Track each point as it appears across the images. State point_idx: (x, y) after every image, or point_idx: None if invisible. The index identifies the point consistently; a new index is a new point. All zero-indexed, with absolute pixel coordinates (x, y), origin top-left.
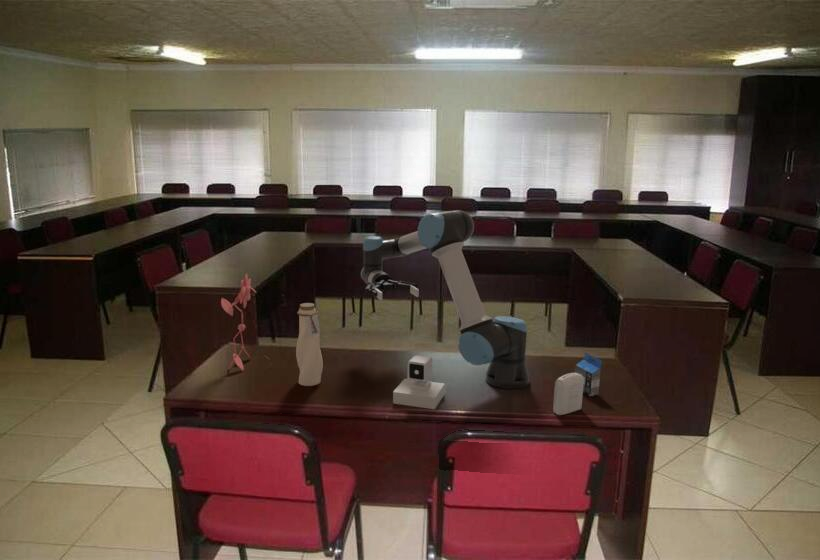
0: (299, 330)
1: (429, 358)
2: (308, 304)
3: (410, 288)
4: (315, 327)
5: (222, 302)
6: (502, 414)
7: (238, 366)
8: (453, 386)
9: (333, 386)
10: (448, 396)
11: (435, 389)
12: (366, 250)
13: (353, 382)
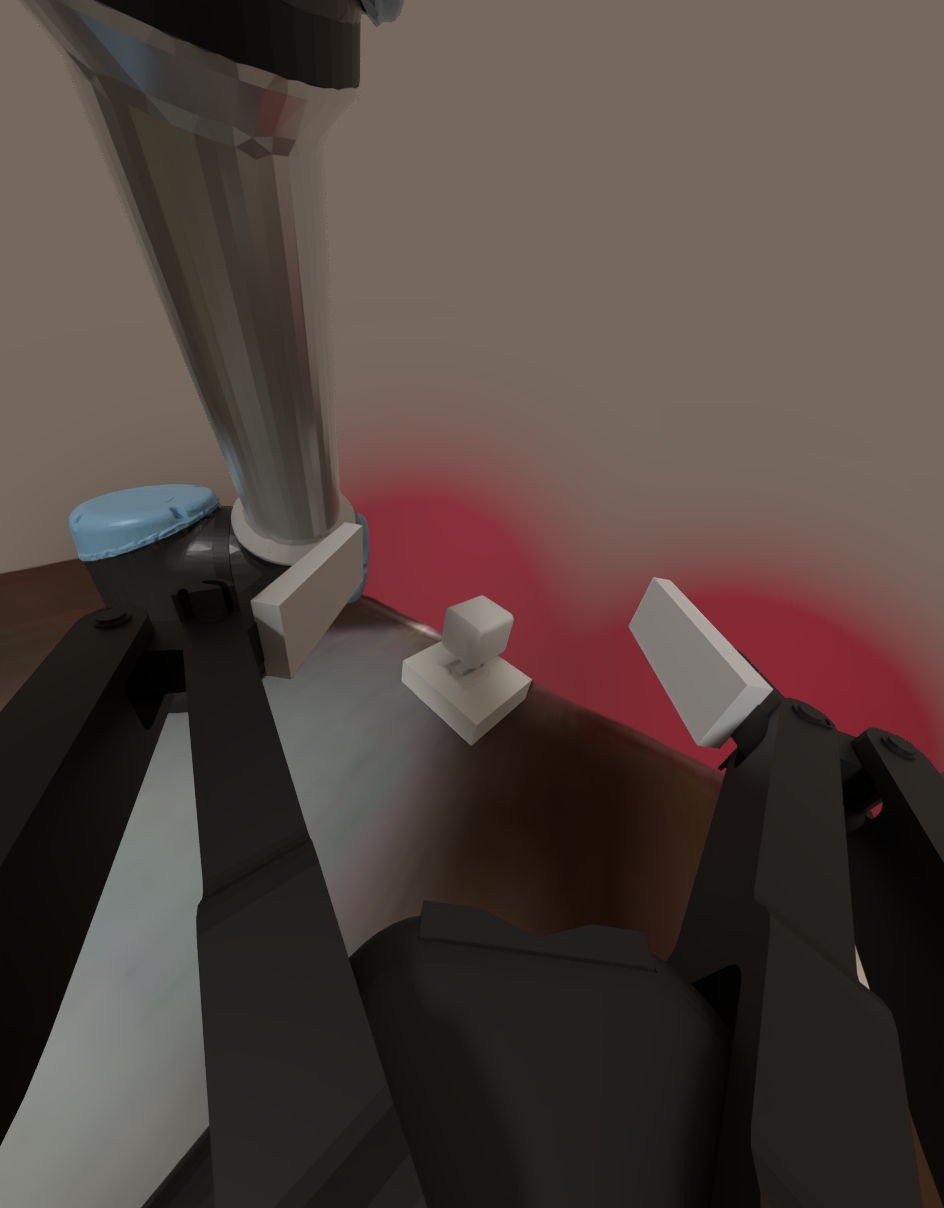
0: None
1: (456, 605)
2: None
3: (290, 629)
4: (942, 772)
5: None
6: (370, 599)
7: None
8: (347, 703)
9: (684, 874)
10: (399, 672)
11: (440, 650)
12: None
13: (615, 877)
